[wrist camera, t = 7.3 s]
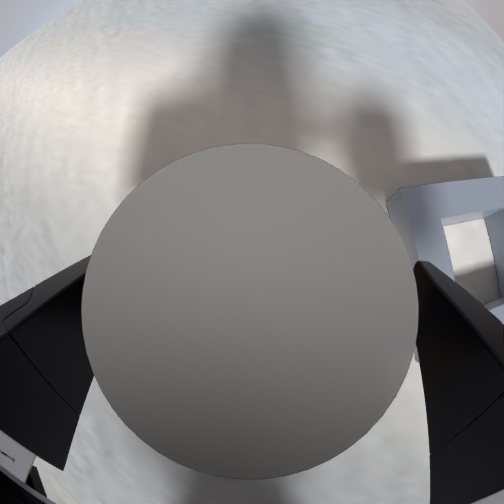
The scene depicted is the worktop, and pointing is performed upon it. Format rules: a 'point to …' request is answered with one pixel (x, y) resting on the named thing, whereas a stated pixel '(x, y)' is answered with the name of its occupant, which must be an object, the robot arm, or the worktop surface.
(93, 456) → the worktop surface
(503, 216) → the blue-grey square ring
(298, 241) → the plug
